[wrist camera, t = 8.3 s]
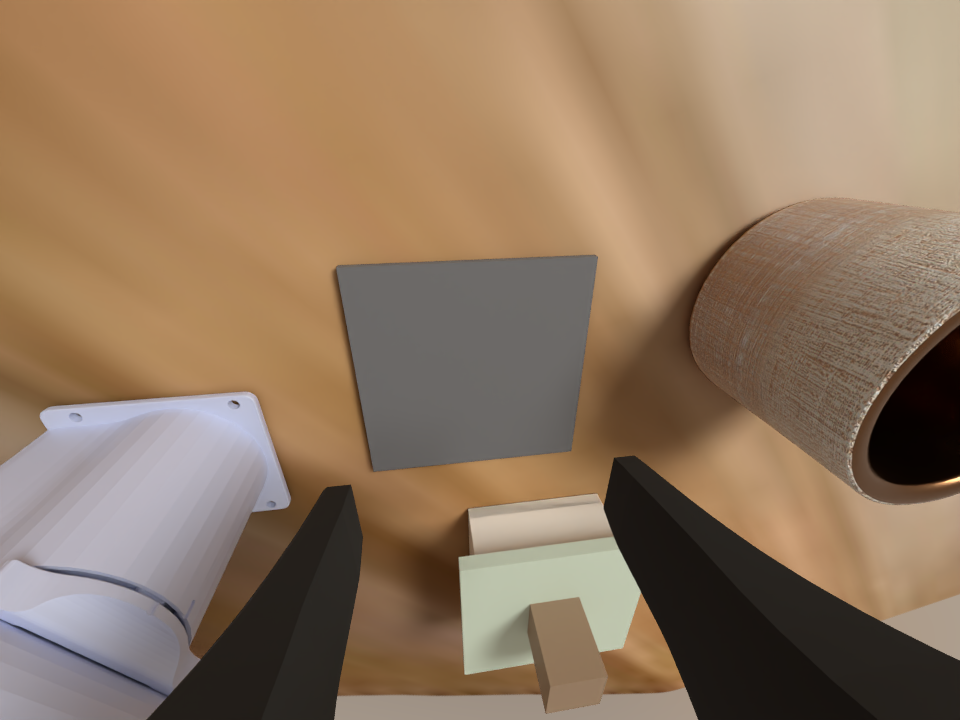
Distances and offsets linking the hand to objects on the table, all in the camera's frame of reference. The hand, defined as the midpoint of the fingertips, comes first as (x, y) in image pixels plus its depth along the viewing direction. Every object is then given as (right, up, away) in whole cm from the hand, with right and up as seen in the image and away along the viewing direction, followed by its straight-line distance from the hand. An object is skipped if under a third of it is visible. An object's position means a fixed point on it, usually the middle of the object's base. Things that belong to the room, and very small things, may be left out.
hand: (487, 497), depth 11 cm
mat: (-1, +3, +10) cm, 11 cm away
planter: (+16, +7, +11) cm, 21 cm away
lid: (+4, -11, +14) cm, 18 cm away
